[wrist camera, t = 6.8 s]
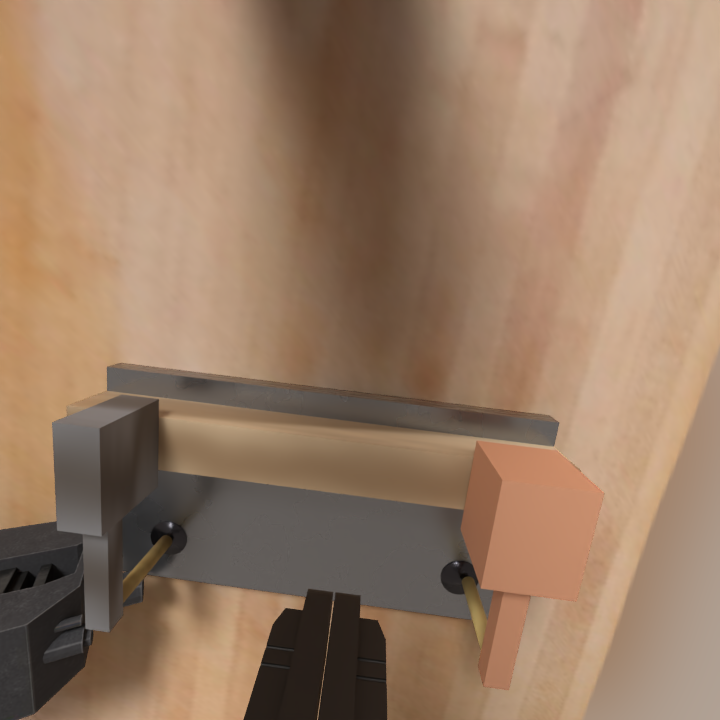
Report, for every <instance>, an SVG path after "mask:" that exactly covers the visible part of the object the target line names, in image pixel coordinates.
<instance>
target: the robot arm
mask: <svg viewBox="0 0 720 720" xmlns="http://www.w3.org/2000/svg"><path fill="white" fill-rule="evenodd" d="M332 600H333V592H330V591H323V590H315V589H308V591H307V595H306V599H305V604H304V608H303V610H296V609H289V608H285V610H284V611H283V612H282V613H281V615H280V616H279V617H278V619H277V620H276V621H275V622H274V624H273V626H272V629H271V632H270V636H269V639H268V642H267V646H266V649H265V652H264V655H263V658H262V662H261V666H260V668H259V671H258V675H257V678H256V681H255V684H254V688H253V691H252V694H251V697H250V701H249V704H248V707H247V710H246V714H245V717H244V720H317V716H318V709H319V702H320V695H321V702H320V709H319V716H318V720H387V685H386V639H385V637H384V635H383V632H382V630H381V627H380V625H379V623H378V620H371V619H363V618H360V601H361V595H354V594H346V593H339V592H336V593H335V600H334V607H333V614H332V621H331V629H330V636H329V643H328V635H329V627H330V618H331V609H332ZM327 643H328V651H327ZM326 651H327V658H326ZM325 659H326V665H325ZM324 666H325V672H324ZM323 673H324V680H323ZM322 680H323V687H322ZM321 688H322V694H321Z"/></svg>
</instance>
